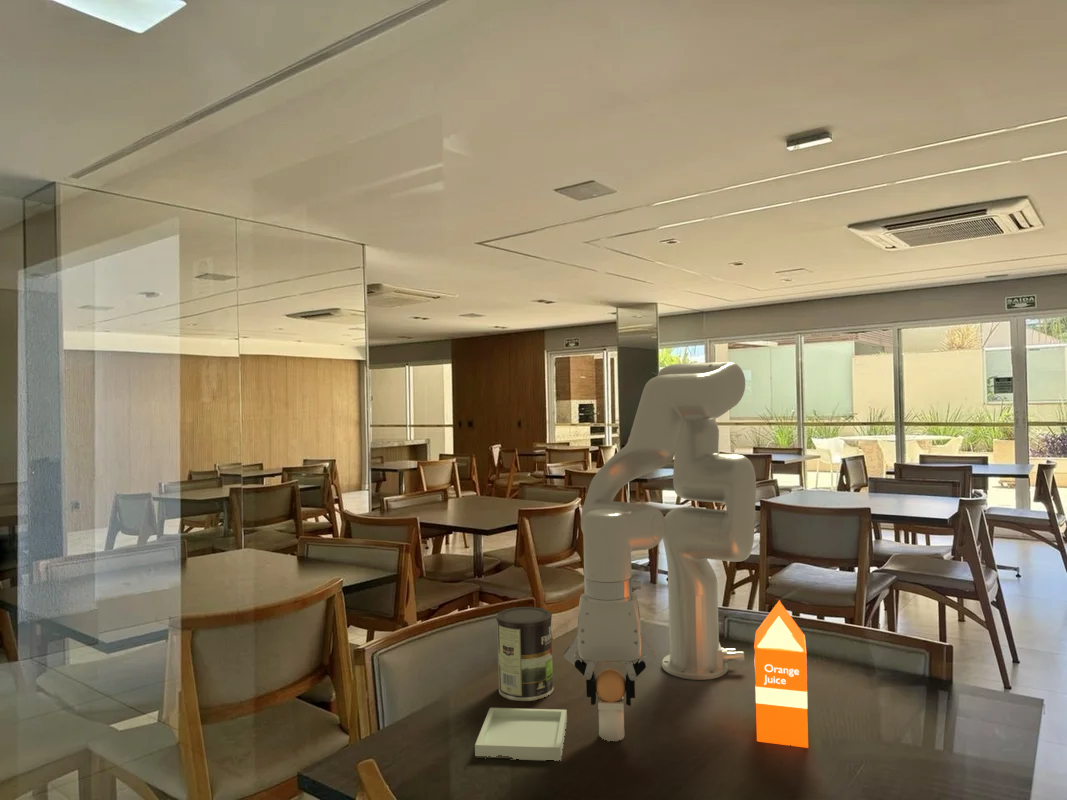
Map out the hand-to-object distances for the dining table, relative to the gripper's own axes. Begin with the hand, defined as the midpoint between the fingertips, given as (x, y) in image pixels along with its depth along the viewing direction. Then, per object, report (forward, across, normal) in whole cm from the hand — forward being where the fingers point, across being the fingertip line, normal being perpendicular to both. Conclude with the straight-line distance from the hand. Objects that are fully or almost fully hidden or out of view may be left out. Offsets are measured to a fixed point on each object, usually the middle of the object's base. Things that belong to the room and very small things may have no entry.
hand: (610, 700), depth 116 cm
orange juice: (+6, -27, -3) cm, 28 cm away
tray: (+6, +14, +2) cm, 15 cm away
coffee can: (+6, +16, -17) cm, 24 cm away
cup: (+6, 0, 0) cm, 6 cm away
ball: (-2, 0, 0) cm, 2 cm away
